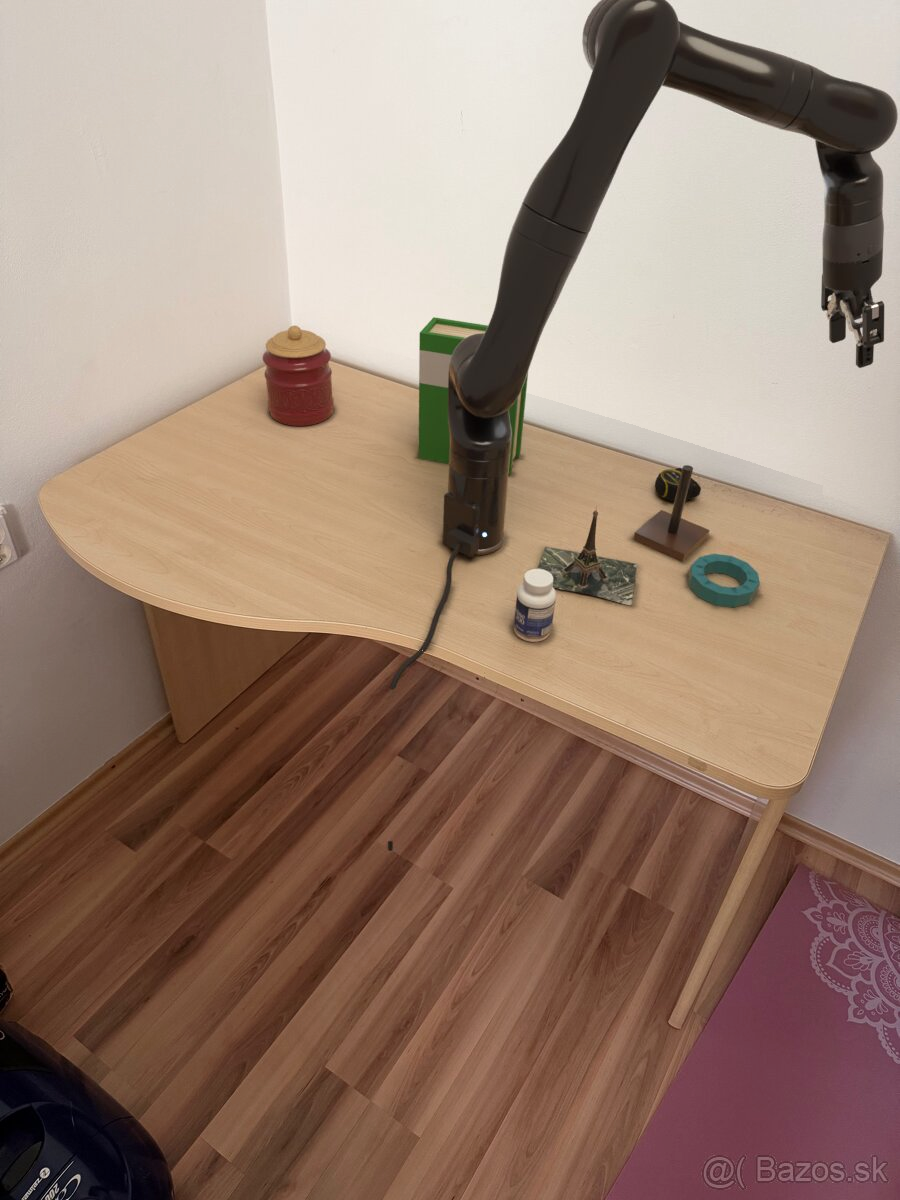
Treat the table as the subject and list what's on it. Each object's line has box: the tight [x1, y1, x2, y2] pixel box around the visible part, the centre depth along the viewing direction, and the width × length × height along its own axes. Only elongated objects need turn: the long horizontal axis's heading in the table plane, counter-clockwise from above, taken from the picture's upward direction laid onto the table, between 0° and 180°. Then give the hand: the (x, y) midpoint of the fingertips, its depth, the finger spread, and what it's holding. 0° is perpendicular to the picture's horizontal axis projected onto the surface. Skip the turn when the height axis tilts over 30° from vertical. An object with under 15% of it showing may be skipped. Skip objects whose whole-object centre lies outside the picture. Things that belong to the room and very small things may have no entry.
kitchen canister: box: [262, 325, 335, 427], centre depth 163 cm, size 13×13×18 cm
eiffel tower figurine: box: [537, 506, 638, 607], centre depth 126 cm, size 15×10×13 cm
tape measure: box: [654, 467, 702, 502], centre depth 147 cm, size 7×7×4 cm
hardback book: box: [417, 316, 529, 477], centre depth 149 cm, size 18×7×24 cm, turn 73°
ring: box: [687, 553, 761, 608], centre depth 128 cm, size 10×10×2 cm
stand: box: [632, 464, 710, 562], centre depth 134 cm, size 9×9×14 cm
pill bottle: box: [513, 568, 557, 643], centre depth 117 cm, size 5×5×10 cm
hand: (850, 352), depth 125 cm, fingers open, 8 cm apart
